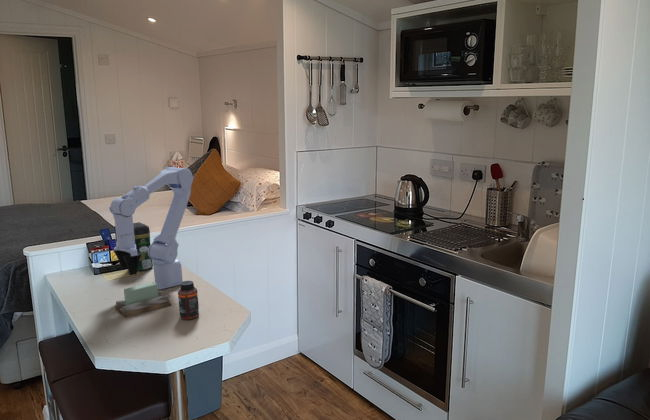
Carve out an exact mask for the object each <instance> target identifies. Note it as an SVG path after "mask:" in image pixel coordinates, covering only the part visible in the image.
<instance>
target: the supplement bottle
mask: <svg viewBox="0 0 650 420" xmlns="http://www.w3.org/2000/svg"><path fill="white" fill-rule="evenodd" d="M179 286H180V289H178V291H177V296H178V308H179V309H178V310H179V318H180V319H182V320H186V321H188V320H194V319H197V318H198V317H199V316H200V306H199V295H198V294H199V293H198V289H197V288H196V287H195V283H194V280H184V281H183V282H181V283H180V285H179Z"/></svg>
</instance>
